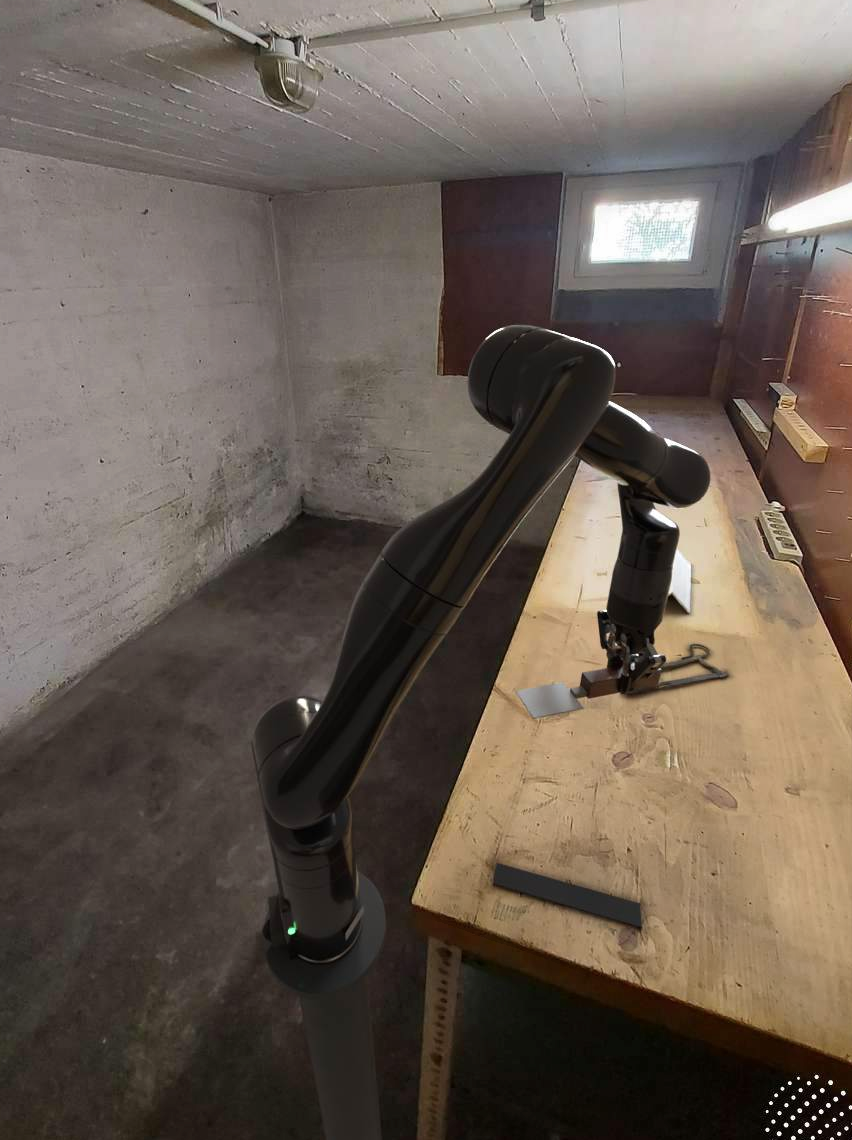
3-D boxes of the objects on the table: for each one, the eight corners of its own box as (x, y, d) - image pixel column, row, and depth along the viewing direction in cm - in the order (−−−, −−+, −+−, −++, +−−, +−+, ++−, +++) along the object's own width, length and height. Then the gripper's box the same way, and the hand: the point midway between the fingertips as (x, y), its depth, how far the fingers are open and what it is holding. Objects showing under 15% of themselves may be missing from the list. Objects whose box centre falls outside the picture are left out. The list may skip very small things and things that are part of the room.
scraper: (640, 668, 90) (644, 653, 88) (665, 692, 84) (669, 676, 83) (515, 691, 85) (516, 676, 84) (533, 719, 80) (535, 702, 78)
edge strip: (492, 884, 73) (492, 883, 73) (496, 863, 76) (496, 862, 75) (641, 928, 68) (641, 927, 68) (640, 904, 70) (640, 903, 70)
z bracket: (669, 576, 151) (690, 564, 148) (665, 624, 131) (689, 612, 128) (640, 542, 151) (661, 529, 147) (631, 585, 131) (655, 572, 127)
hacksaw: (627, 697, 104) (628, 690, 103) (596, 663, 113) (597, 657, 112) (738, 675, 108) (740, 668, 108) (700, 644, 117) (702, 638, 117)
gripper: (587, 568, 83) (573, 662, 91) (647, 618, 71) (624, 722, 79) (632, 562, 85) (614, 654, 93) (697, 610, 73) (670, 712, 80)
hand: (619, 685), depth 86 cm, fingers closed on scraper, 2 cm apart
